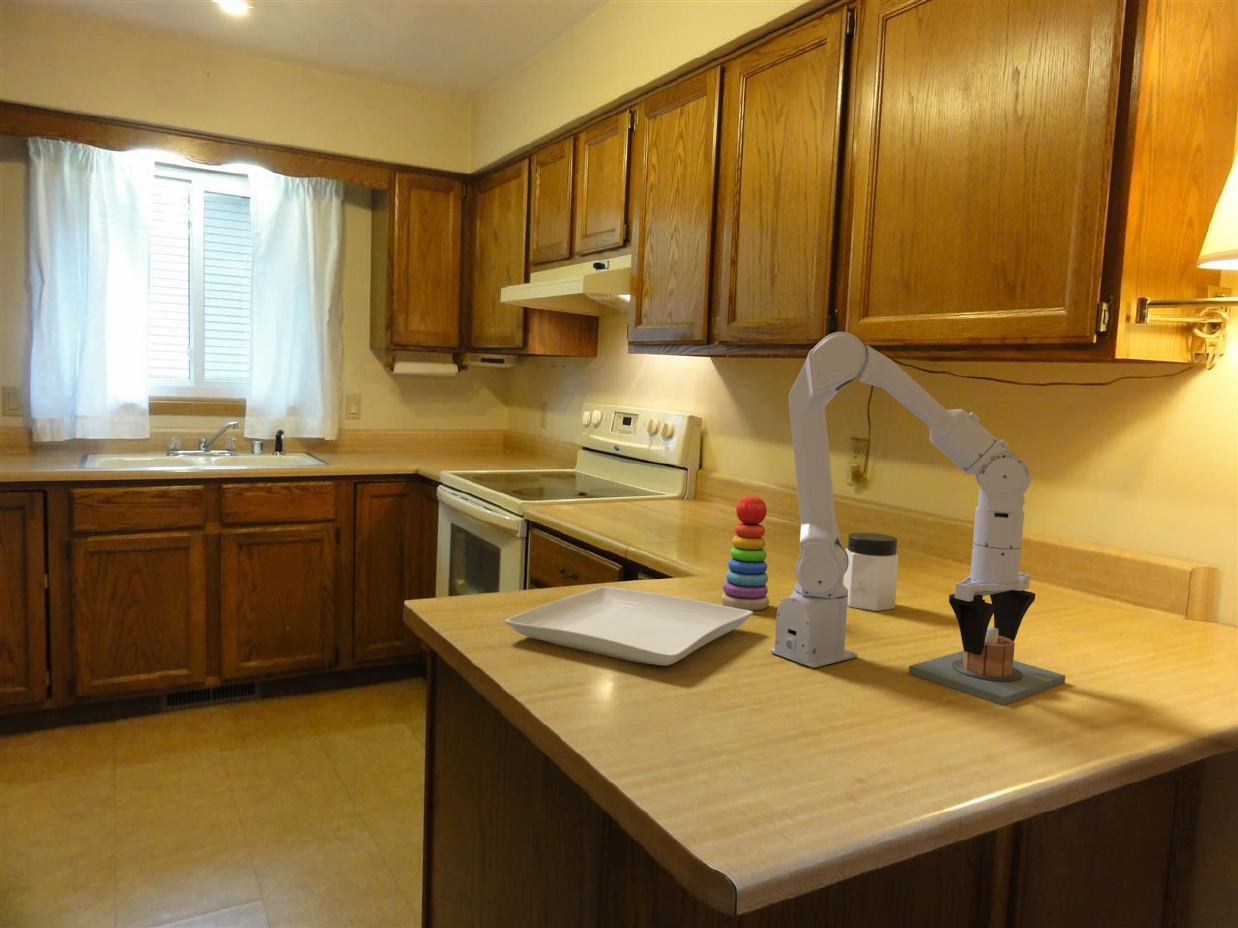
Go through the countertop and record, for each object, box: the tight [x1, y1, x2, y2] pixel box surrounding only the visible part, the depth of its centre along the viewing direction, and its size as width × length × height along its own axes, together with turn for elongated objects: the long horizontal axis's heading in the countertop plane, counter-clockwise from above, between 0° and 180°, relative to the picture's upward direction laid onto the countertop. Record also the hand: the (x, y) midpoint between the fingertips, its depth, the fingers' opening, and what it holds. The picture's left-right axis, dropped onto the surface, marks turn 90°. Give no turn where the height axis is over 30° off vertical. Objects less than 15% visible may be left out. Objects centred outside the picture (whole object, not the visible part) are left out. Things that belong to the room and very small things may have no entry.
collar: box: [963, 635, 1016, 677], centre depth 110 cm, size 6×6×4 cm
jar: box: [843, 532, 899, 612], centre depth 146 cm, size 9×8×12 cm
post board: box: [908, 626, 1066, 706], centre depth 110 cm, size 15×13×7 cm
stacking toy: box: [721, 495, 770, 612], centre depth 141 cm, size 8×8×19 cm
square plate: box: [504, 586, 754, 667], centre depth 123 cm, size 27×27×4 cm
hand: (988, 648), depth 110 cm, fingers open, 7 cm apart
